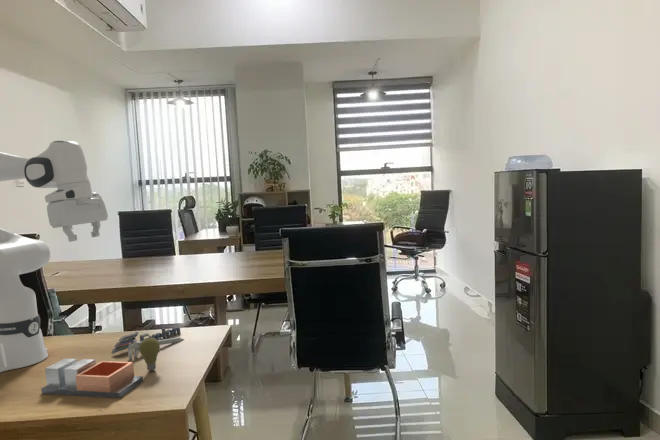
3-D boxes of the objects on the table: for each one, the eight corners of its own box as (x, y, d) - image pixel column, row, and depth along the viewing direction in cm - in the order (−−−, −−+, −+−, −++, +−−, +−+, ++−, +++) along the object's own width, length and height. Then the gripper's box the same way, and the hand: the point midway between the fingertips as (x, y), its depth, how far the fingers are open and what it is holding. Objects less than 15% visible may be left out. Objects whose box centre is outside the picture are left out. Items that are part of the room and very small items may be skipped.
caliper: (130, 360, 147) (128, 341, 146) (128, 360, 147) (126, 340, 147) (184, 340, 163) (182, 323, 163) (182, 340, 164) (180, 322, 163)
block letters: (114, 357, 150) (112, 340, 150) (111, 356, 151) (110, 339, 151) (180, 334, 170) (179, 319, 169) (178, 333, 171) (176, 318, 170)
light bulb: (149, 376, 133) (146, 342, 132) (137, 372, 136) (134, 339, 135) (165, 369, 138) (162, 336, 137) (153, 365, 141) (150, 333, 140)
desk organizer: (41, 393, 125) (39, 370, 124) (69, 377, 135) (67, 356, 134) (119, 398, 120) (117, 374, 119) (143, 381, 129) (141, 359, 129)
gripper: (91, 194, 150) (99, 235, 151) (39, 197, 131) (49, 245, 131) (108, 190, 149) (116, 233, 150) (58, 193, 129) (68, 242, 130)
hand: (84, 239), depth 141 cm, fingers open, 8 cm apart
